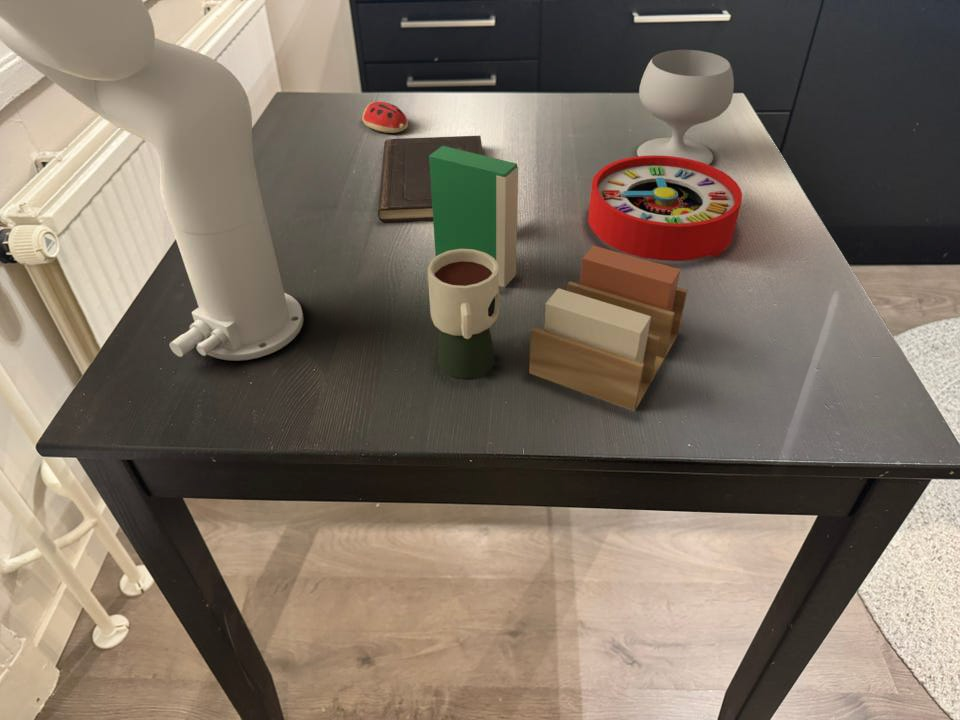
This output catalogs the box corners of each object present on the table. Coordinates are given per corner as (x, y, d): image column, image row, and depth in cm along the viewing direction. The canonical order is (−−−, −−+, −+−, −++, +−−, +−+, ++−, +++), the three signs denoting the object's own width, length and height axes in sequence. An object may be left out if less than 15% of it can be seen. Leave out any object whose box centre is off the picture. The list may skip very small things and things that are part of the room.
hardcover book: (480, 148, 122) (480, 135, 120) (490, 218, 104) (490, 203, 103) (385, 152, 121) (383, 139, 120) (378, 222, 104) (377, 208, 102)
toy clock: (759, 226, 90) (598, 225, 91) (748, 265, 94) (594, 264, 95) (724, 155, 105) (586, 155, 106) (716, 191, 109) (582, 191, 110)
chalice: (636, 134, 125) (648, 44, 115) (719, 143, 122) (739, 50, 112) (626, 170, 115) (638, 75, 105) (717, 181, 112) (738, 83, 102)
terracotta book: (658, 350, 81) (671, 283, 75) (576, 323, 84) (582, 258, 78) (667, 335, 83) (680, 269, 77) (586, 309, 86) (592, 245, 80)
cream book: (629, 401, 75) (640, 333, 69) (541, 369, 78) (545, 303, 72) (639, 383, 77) (651, 316, 71) (553, 354, 80) (558, 287, 74)
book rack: (633, 416, 74) (642, 366, 70) (528, 378, 79) (530, 329, 74) (677, 337, 83) (688, 289, 79) (581, 307, 88) (586, 260, 84)
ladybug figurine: (381, 113, 133) (379, 93, 131) (419, 127, 128) (417, 107, 126) (353, 124, 130) (350, 105, 127) (391, 140, 125) (389, 119, 122)
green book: (504, 292, 91) (505, 174, 80) (435, 270, 94) (428, 155, 84) (515, 279, 93) (518, 163, 82) (448, 259, 96) (442, 145, 86)
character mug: (503, 397, 76) (504, 297, 68) (435, 401, 76) (428, 301, 68) (494, 332, 85) (494, 236, 76) (433, 336, 84) (426, 239, 76)
